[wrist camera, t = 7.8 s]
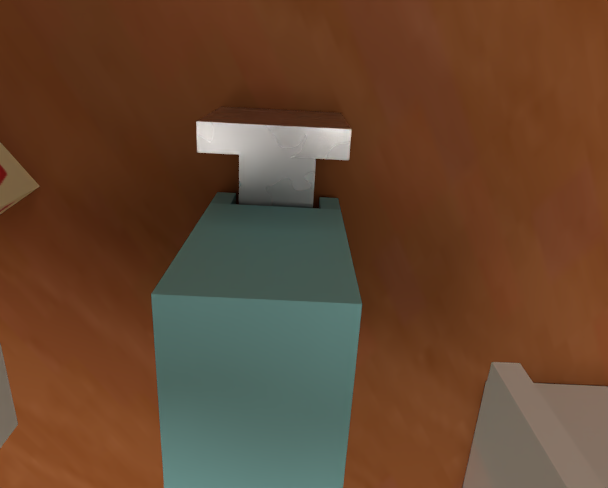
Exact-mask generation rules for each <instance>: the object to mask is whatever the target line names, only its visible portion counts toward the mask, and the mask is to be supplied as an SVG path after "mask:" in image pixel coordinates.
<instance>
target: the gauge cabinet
mask: <svg viewBox="0 0 608 488" xmlns="http://www.w3.org/2000/svg"><path fill="white" fill-rule="evenodd" d="M486 385H487V381H486V383H485V388H484V393H485V389H486ZM534 385H535V386H536V388H537V389H538V391H539V392H540V393H541V395H542V396H543V398H544V399H545V401H546V402H547V404H548V405H549V407H550V408H551V410H552V411H553V413H554V414H555V415H556V417H557V418H558V420H559V421H560V423H561V424H562V426H563V427H564V429H565V430H566V432H567V433H568V434H569V436H570V437H571V439H572V440H573V442H574V443H575V445H576V446H577V448H578V449H579V451H580V452H581V454H582V455H583V456H584V458H585V459H586V461H587V462H588V464H589V465H590V467H591V468H592V470H593V471H594V473H595V474H596V476H597V477H598V478H599V480H600V481H601V483H602V484H603V486H604V487H605V488H608V386H588V385H566V384H543V383H534ZM484 393H483V397H484ZM483 397H482V402H483ZM482 402H481V406H482ZM481 406H480V410H481ZM479 414H480V411H479ZM478 419H479V415H478ZM477 423H478V420H477ZM476 427H477V424H476ZM475 431H476V429H475ZM474 436H475V433H474ZM473 440H474V438H473ZM463 488H494V487H493V485H492V483H491V480H490V478H489V476H488V473H487V471H486V469H485V467H484V464H483V462H482V460H481V457H480V455H479V453H478V450H477V448H476V446H475V443H474V441H473V442H472V447H471V452H470V456H469V461H468V465H467V470H466V474H465V479H464V483H463Z"/></svg>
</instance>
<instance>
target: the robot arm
mask: <svg viewBox="0 0 608 488" xmlns="http://www.w3.org/2000/svg"><path fill="white" fill-rule="evenodd" d="M17 425H18V422H17V418H16V413H15V409H14V404H13V399H12V395H11V390H10V386H9V381H8V376H7V372H6V367H5V362H4V358H3V353H2V349H1V344H0V448H1V447H2V445H3V444H4V443H5V441H6V440H7V438H8V437H9V436H10V434H11V433H12V432H13V430H14V429H15V428H16V426H17ZM473 441H474V443H475V446H476V448H477V450H478V453H479V455H480V457H481V460H482V462H483V464H484V467H485V469H486V471H487V473H488V476H489V478H490V480H491V483H492V485H493V487H494V488H605V487H604V486H603V484H602V483H601V481H600V480H599V478H598V477H597V476H596V474H595V473H594V471H593V470H592V468H591V467H590V465H589V464H588V462H587V461H586V459H585V458H584V456H583V455H582V454H581V452H580V451H579V449H578V448H577V446H576V445H575V443H574V442H573V440H572V439H571V437H570V436H569V434H568V433H567V432H566V430H565V429H564V427H563V426H562V424H561V423H560V421H559V420H558V418H557V417H556V415H555V414H554V413H553V411H552V410H551V408H550V407H549V405H548V404H547V402H546V401H545V399H544V398H543V396H542V395H541V393H540V392H539V391H538V389H537V388H536V386H535V385H534V383H533V382H532V380H531V379H530V377H529V376H528V374H527V373H526V371H525V370H524V369H523V367H522V366H521V364H520V363H505V362H492V363H491V368H490V372H489V376H488V380H487V385H486V389H485V393H484V397H483V402H482V406H481V410H480V414H479V419H478V423H477V427H476V431H475V436H474V440H473Z"/></svg>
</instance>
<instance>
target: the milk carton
mask: <svg viewBox="0 0 608 488" xmlns="http://www.w3.org/2000/svg"><path fill="white" fill-rule="evenodd" d="M38 187H40V186H39V185H38V184H37V183H36V181H35V180H34V179H33V178H32V177H31V176H30V175H29V174H28V173H27V171H26V170H25V169H24V168H23V167H22V166H21V165H20V164H19V162H18V161H17V160H16V159H15V158H14V157H13V156H12V155H11V154H10V152H9V151H8V150H7V149H6V148H5V147H4V146H3V145H2V143H1V142H0V214H2V213H3V212H5V211H6V210H7V209H9V208H10V207H12V206H13V205H14V204H16V203H17V202H19V201H20V200H21V199H23V198H24V197H26V196H27V195H28V194H30V193H31V192H33V191H34V190H35V189H37V188H38Z"/></svg>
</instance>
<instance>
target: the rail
mask: <svg viewBox="0 0 608 488" xmlns="http://www.w3.org/2000/svg"><path fill="white" fill-rule="evenodd" d="M196 130H197V152H198V153H217V154H237V155H239V205H258V206H278V207H298V208H313V199H314V182H315V165H316V159H334V160H349V154H350V142H351V130H352V129H351V128H350V126H349V125H348V123H347V121H346V120H345V118H344V117H343V115H342V113H336V112H317V111H298V110H279V109H260V108H241V107H222V106H221V107H220V108H218V109H216V110H215V111H213V112H211V113H209V114H208V115H206V116H204V117H203V118H201V119H199V120H198V121H196Z"/></svg>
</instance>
